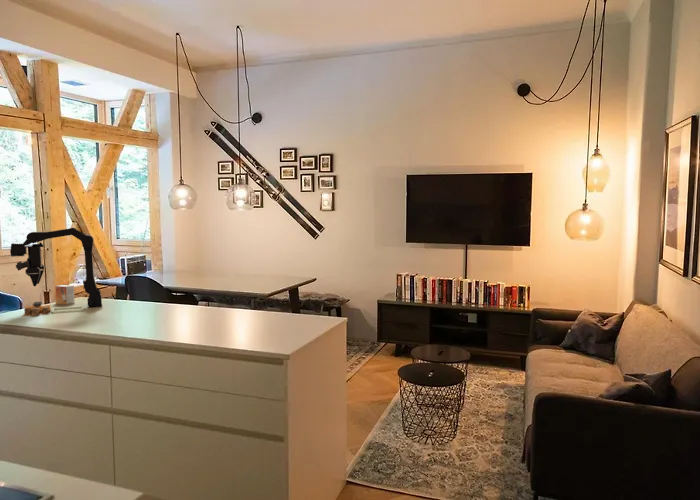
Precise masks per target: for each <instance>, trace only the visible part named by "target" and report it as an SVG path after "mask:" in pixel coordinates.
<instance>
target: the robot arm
mask: <svg viewBox="0 0 700 500" xmlns="http://www.w3.org/2000/svg"><path fill="white" fill-rule="evenodd" d="M67 236H73V237H74V238H76V239H77V240H79V241H81V244H82V248H83V251H84V264H85V279H83V280H82V284H83V288H82V289H84V291H85V292H86V293H87V294H88V298H87V307H88V308H101V307H103V303H102V302H103V300H102V299H103V298H102V294H101V293H102V290H101V289H100V288H99V287H98V286H97V282H96V279H95V276H94V275H95V274H94V262H93V261H94V260H93V259H94V258H93V248H94V241H95V240H94V237H93V236H92V235H90V234H86V233H84V232H82V231H80V230H78V229H77V228H76V227H71V228H69V227H68V228H65V229H56V230H51V231H31V232H28V233H27V235H26V237H25V238H26V240H25V241H23V243H11V244H10V249H9V252H10V256H11V257H25V255H27V259H26V261H18V262H17V263H16V264H15V268H16V270H17V271H21V270H23V269H25V268H26V269H25V274H26V275H27V276H28V277H29V278H30V281H31V283H32V285H33V287H37V285H39V284H40V281H41V279H42V277H43V275H44V272H45V269H46V268H45V267H46V266H45V265H44V264H42V259H43V257H42V253H41V252H42V251H41V250H42V249H41V248H44V247H45V246H46V245H45V244H43V242H42V241H45V240H48V239H55V238H60V237H67ZM31 244H32V245H31Z"/></svg>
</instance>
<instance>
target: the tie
mask: <svg viewBox="0 0 700 500" xmlns="http://www.w3.org/2000/svg"><path fill="white" fill-rule="evenodd" d="M42 303H43V301H34V303H33V304H32V306H35V307H38V306H40V305H42Z"/></svg>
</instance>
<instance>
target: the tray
mask: <svg viewBox="0 0 700 500" xmlns="http://www.w3.org/2000/svg"><path fill="white" fill-rule="evenodd" d="M84 308H85V307H84V306H83V305H82V306H68V307H53V309H51V310H52V311H51V313H50V314H64V313H75V312H77V313H79V312H83V310H84Z"/></svg>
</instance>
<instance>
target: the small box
mask: <svg viewBox="0 0 700 500" xmlns="http://www.w3.org/2000/svg"><path fill="white" fill-rule="evenodd" d="M54 287H55V304H56V305H70V304H75V303H76V302H75V285H74V284H73V285H72V284H71V285H69V284H67V285H65V284H60V285H56V286H54Z"/></svg>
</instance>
